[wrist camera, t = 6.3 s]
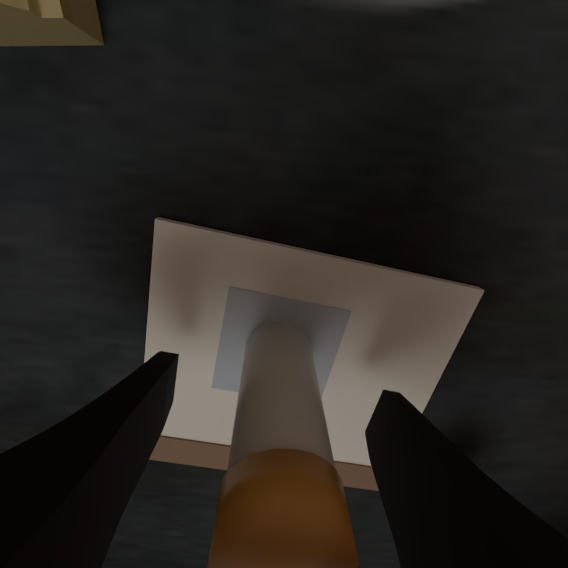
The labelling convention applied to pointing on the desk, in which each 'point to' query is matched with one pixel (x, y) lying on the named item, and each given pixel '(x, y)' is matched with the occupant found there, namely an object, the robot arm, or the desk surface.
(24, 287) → the desk surface
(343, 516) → the orange cap marker
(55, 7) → the figurine on pedestal
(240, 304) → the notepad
